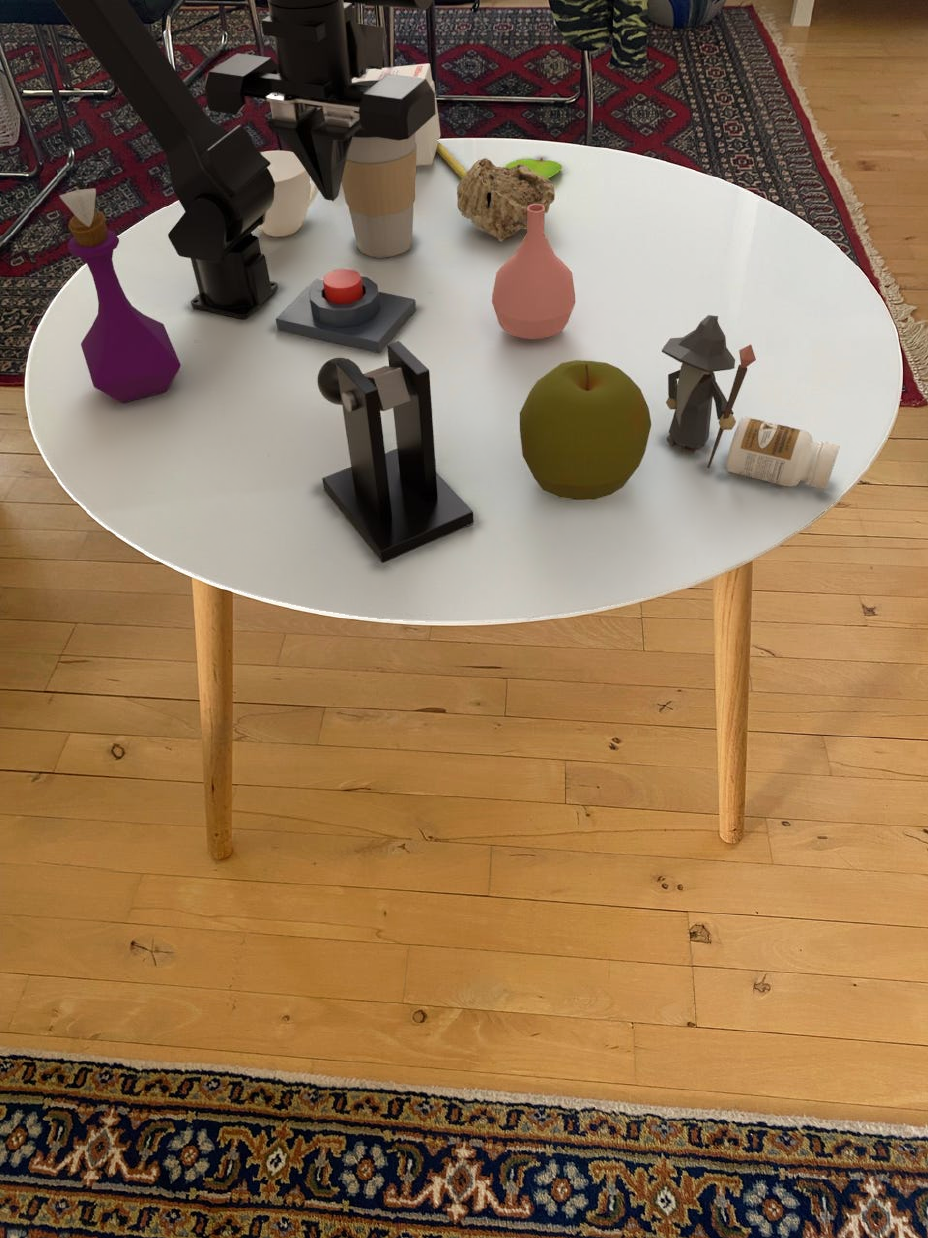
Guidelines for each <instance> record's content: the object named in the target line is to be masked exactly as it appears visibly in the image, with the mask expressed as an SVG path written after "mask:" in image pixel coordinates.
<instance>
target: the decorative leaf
mask: <svg viewBox="0 0 928 1238" xmlns="http://www.w3.org/2000/svg"><path fill="white" fill-rule="evenodd" d="M518 164H524V165H525V166H527V167H528V168H530V169H531V170H532V171H533V172H535V173H536V174H537V175H542V176H543V177H545V178H547V179H550V178H552V177H554V175H556V174H558V173H560V172H561V171H562V169H563V165H562V164H561V163H559V162H557V161H555V160H550V159H549V160H548V159H547V160H544V159H543V157H541V158H540V159H534V158H523V159H517V160H514V161H510V162H509V163H507V164H506V165H505V166H504V167H509V168H512V167H514V166H517V165H518Z"/></svg>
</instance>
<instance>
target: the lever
mask: <svg viewBox="0 0 928 1238" xmlns="http://www.w3.org/2000/svg"><path fill="white" fill-rule="evenodd" d="M346 359H347V357H334V358H331V359H329V360H327V361H326V362H325V363H323V364H322V366H321V367H320V369H319V371H318V374H317V379H316V380H317V381H316V382H317V387H318V391H319V393H320V394H321V396H322V397H323V399H325V400H326V401H328V402H329V403H331V404H333V405H337V406H342V400H341V393H340V387H339V380H338V373H337V366H336V363H337V362H340V361H343V360H346ZM349 360H350V361H351V362H352V363H353V364H354V365H355V366H356V367H357V368H358V369H359V370H360V371H361V372H362V369H361V367H360V366H359V365H358V364H357V363H356V362H354V361H353V360H351V359H349ZM363 374H364V375H365V376H366V377H367V378H368V379H369V381H370V382H371V383H372V384H373V385H374V386H375V387H376V388H377V389H378V395H379V404H380V412H385V411H388V410H391V409H393V408H394V407H396V406H399V405H401V404H404V403H407V402H409V401H411V400H410V396H409V393H408V389H407V386H406V382H405V379H404V376H403V372H402V369H401V368H399V367H390V366H389V365H384V366H382V367H379V368H376V369H373V370H370V371H368V372H365V373H363Z"/></svg>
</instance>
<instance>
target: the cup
mask: <svg viewBox="0 0 928 1238" xmlns="http://www.w3.org/2000/svg"><path fill="white" fill-rule="evenodd" d="M259 152H260V153H261V154H262V156H264V157H265V158H266V159H267V160H268V161H269V162H270V165H269V166H268V167H267V168H268V170H269V171H270V173H271V175H272V177H273V180H274V183H275V188H274V200H273V203H272V206H271V207H270V208H269V209H268V210H267V211H266V216H265V222H264V223H263V224H262V225H259V226H258V227H257V228H259V229H260V230H261V231H262V232H263V233H264V234H265V235H267V236H271V237H274V238H275V237H277V238H279V237H287V236H292V235H294V234H296V233H297V232H298V231H299V230H300V229H301V227H302V225H303V224H304V221H305V220H306V216H307V214H308V211H309V208H310V207H311V206H312V204H313V203H314V201H315V199H316V198H317V195H318V193H319V192H320V191H319V190H318V188H317V186H316V185H315V183H314V182H313V180H312V179H311V177H310V176H309V174H308V173H307V171H306V170H305V168H304V167H303V165H302V164H301V162H300V161H299V159H298V158H297V157H296V155H295V154H294V153H293V151H291V150H266V151H259Z"/></svg>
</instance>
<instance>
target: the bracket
mask: <svg viewBox="0 0 928 1238" xmlns="http://www.w3.org/2000/svg"><path fill="white" fill-rule="evenodd" d="M386 352H387V361H388V366H390V367H399V368H401V369H402V372H403V376H404V379H405V382H406V386H407V389H408V393H409V396H410V400H411V401H409V402H407V403H404V404H401V405H399V406H396V407H394V408H392V410H393V420H394V428H395V429H394V430H395V431H394V432H395V441H396V448H395V449H392V450H390V451H386V449H385V439H384V432H383V424H382V423H383V421H382V415H381V411H380V404H379V395H378V389H377V388H376V387H375V386H374V385H373V384H372V383H371V382H370V381H369V379H368V378H367V377H366V376H365V375H364V374H365V373H363V371H362V370H361V369H360V370H361V371H360V370H359V369H358V368H357V367H356V366H355V365H354V364H353V363H352V362H351V361H352V360H351V359H349V358H346V360H343V361H340V362H337V363H336V366H337V373H338V380H339V387H340V393H341V400H342V405H341V407H342V413H343V420H344V421H343V422H344V426H345V434H346V440H347V447H348V455H349V460H350V466H348V467H346V468H344V469H342V470H339V471H337V472H333V473H332V474H329V475H327V476H324V477H322V478H321V480H322V481H321V482H322V487H323V490H324V492H325V493H326V494H327V495H328V497H329V498H330V499H331V500H332V501H333V503H334V504H335V505H336V506H337V508H338V509H339V510H340V512H341V513H342V514H343V515H344V516H345V518H346V520H348V522H349V523H350V524H351V526H353V528H354V529H355V530H356V531H357V533H358V534H359V536H360V537H361V538H362V539H363V541H364V542H365V543H366V545H368V547H369V548H370V550H372V552H373V553H374V554H375V555H376V557H377V558H378V560H379V561H380V562H381V563H385V562H388V561H390V560H393V559H395V558H397V557H399V556H401V555H404V554H406V553H409V552H411V551H413V550H416V549H417V548H419V547H421V546H424V545H426V544H429V543H431V542H434V541H436V540H438V539H440V538H443V537H445V536H447V535H450V534H452V533H454V532H457V531H458V530H461V529H463V528H466V527H468V526H470V525H473V524H474V511H473V510H472V509H471V508H470V507H469V506H468V504H466V503H465V502H464V500H463V499H462V498H461V497H460V496H459V495H458V494H457V493H456V492H455V491H454V490H453V488H452V487H451V486H450V485H449V484H448V483H447V482H446V481H445V480H444V479H443V478H442V477H441V476H440V475H439V474H438V472H437V466H436V465H437V464H436V451H435V435H434V420H433V405H432V404H433V403H432V391H431V389H432V387H431V376H430V375H431V374H430V369H429V368H428V367H427V366H426V365H425V364H424V363H423V362H422V361H421V360H420V359H419V358H417V357H416V356H415V354H414V353H412V352H411V351H410V350H409V349H408V348H407V347H406V346H405V345H404V344H403V343H402V342H401V341H400V340H397V341H394V342H391V343H387V344H386ZM350 360H351V361H350Z"/></svg>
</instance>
